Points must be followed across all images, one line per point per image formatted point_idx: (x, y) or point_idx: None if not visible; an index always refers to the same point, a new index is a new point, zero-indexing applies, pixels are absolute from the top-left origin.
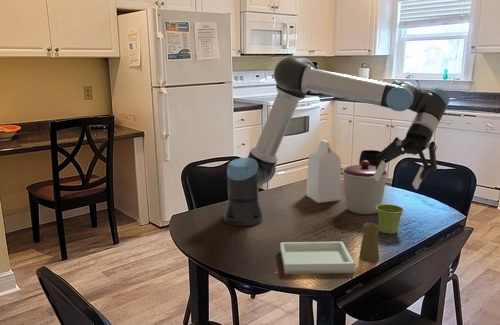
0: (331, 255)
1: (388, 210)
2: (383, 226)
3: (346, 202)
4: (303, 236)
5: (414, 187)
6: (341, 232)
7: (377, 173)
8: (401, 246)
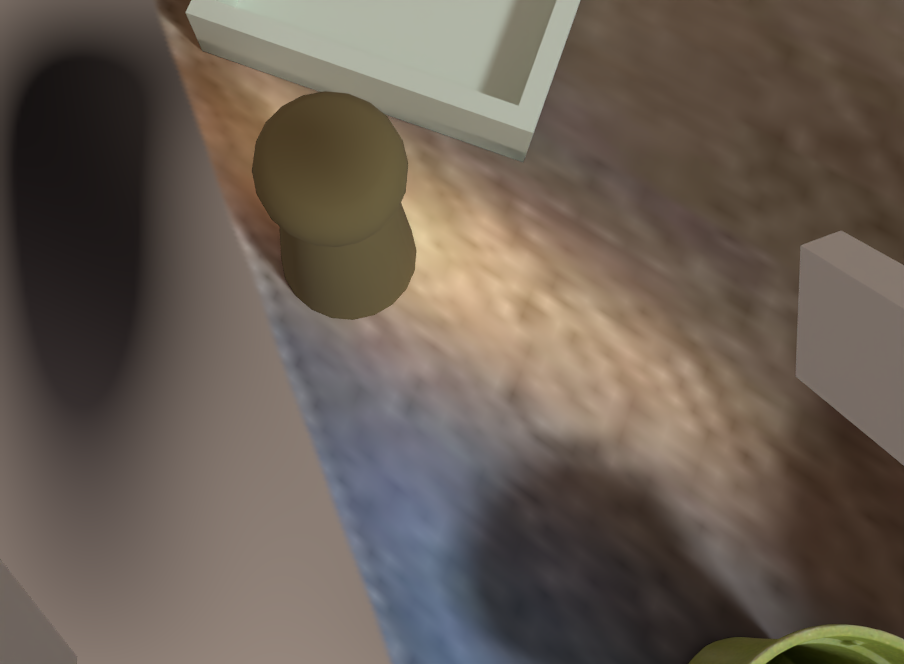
0: (434, 23)
1: None
2: (731, 645)
3: None
4: (824, 51)
5: (43, 626)
6: None
7: (868, 303)
8: (428, 603)
